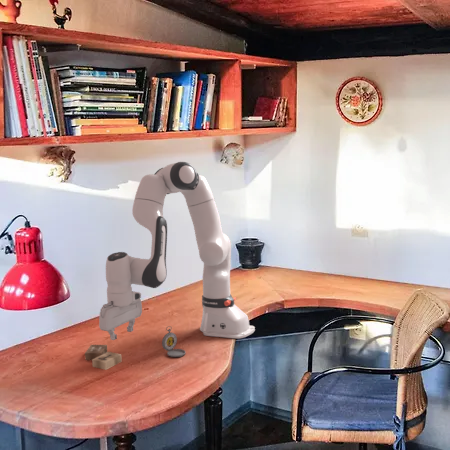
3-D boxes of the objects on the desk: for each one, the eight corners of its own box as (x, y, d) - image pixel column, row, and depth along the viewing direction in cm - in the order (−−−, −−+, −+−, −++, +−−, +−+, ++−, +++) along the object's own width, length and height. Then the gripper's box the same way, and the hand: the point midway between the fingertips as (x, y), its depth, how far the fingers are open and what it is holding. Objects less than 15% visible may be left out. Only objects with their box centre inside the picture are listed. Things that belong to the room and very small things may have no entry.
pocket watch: (183, 358, 221) (182, 331, 220) (160, 357, 223) (159, 330, 221) (188, 350, 229) (187, 324, 228) (166, 349, 231) (165, 323, 229)
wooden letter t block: (121, 354, 219) (105, 362, 212) (121, 362, 220) (105, 370, 213) (108, 351, 222) (92, 359, 215) (108, 359, 223) (92, 367, 216)
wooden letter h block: (107, 344, 229) (101, 353, 221) (107, 352, 230) (101, 361, 222) (91, 344, 230) (84, 353, 221) (91, 352, 230) (85, 361, 222)
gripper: (107, 307, 210) (110, 345, 213) (143, 292, 228) (145, 328, 230) (93, 304, 213) (96, 343, 216) (130, 290, 231) (132, 325, 233)
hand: (122, 335), depth 223 cm, fingers open, 8 cm apart
